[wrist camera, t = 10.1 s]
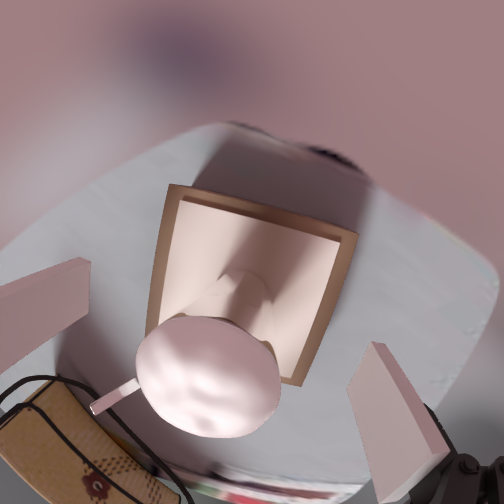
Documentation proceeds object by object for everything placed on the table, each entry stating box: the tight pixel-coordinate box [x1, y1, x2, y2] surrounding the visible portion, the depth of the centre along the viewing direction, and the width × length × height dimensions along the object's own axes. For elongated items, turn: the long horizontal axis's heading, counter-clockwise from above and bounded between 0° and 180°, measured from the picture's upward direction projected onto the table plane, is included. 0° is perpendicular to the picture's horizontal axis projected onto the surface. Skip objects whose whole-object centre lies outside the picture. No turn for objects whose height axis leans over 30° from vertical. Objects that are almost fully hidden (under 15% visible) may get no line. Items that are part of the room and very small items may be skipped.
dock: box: [145, 184, 359, 387], centre depth 17 cm, size 11×10×4 cm
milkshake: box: [90, 270, 281, 438], centre depth 10 cm, size 4×5×10 cm
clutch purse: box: [0, 374, 195, 504], centre depth 18 cm, size 30×7×15 cm, turn 31°
